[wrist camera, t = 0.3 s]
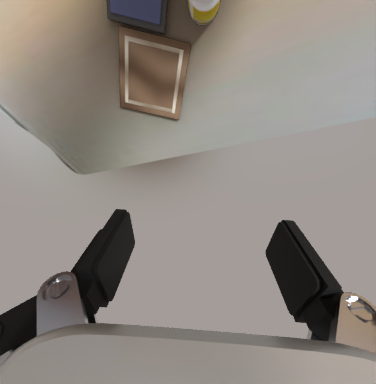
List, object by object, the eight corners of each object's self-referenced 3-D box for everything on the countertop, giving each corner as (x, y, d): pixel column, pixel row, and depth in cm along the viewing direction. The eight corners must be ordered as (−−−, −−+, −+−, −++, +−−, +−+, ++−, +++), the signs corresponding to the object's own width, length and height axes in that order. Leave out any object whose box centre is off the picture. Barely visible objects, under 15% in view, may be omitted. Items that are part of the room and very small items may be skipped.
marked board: (120, 26, 27) (118, 25, 27) (190, 44, 28) (190, 43, 28) (121, 106, 34) (120, 106, 33) (179, 119, 35) (178, 119, 34)
